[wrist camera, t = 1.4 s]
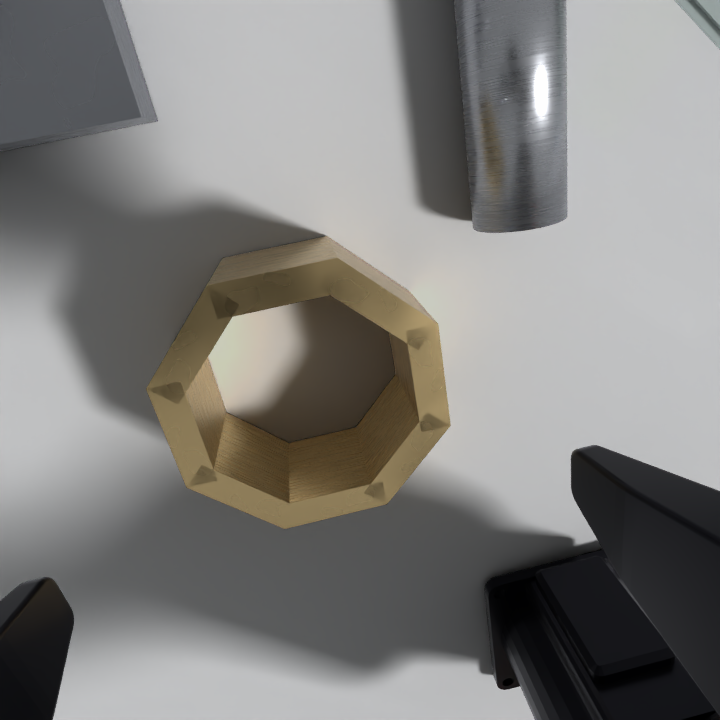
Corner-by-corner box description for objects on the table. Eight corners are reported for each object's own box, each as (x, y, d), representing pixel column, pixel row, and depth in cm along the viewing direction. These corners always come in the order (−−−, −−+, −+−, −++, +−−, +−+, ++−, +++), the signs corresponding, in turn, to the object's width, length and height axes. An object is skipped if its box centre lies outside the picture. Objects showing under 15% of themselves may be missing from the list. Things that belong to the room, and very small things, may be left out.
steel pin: (564, 207, 14) (571, 225, 12) (476, 218, 15) (468, 236, 13) (561, -177, 10) (569, -244, 8) (448, -134, 11) (431, -186, 9)
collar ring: (429, 431, 16) (457, 487, 14) (223, 479, 16) (210, 546, 13) (398, 220, 14) (427, 238, 11) (147, 273, 13) (111, 305, 10)
